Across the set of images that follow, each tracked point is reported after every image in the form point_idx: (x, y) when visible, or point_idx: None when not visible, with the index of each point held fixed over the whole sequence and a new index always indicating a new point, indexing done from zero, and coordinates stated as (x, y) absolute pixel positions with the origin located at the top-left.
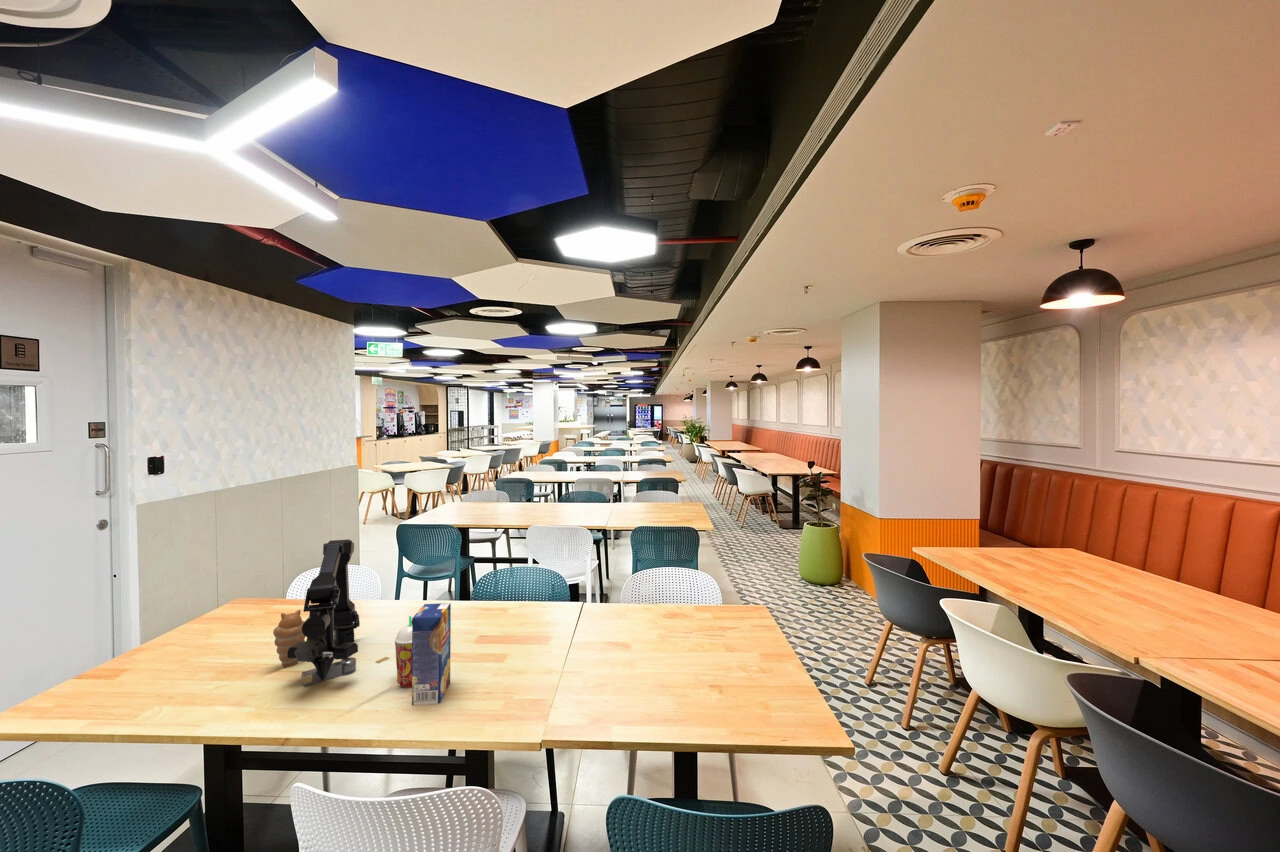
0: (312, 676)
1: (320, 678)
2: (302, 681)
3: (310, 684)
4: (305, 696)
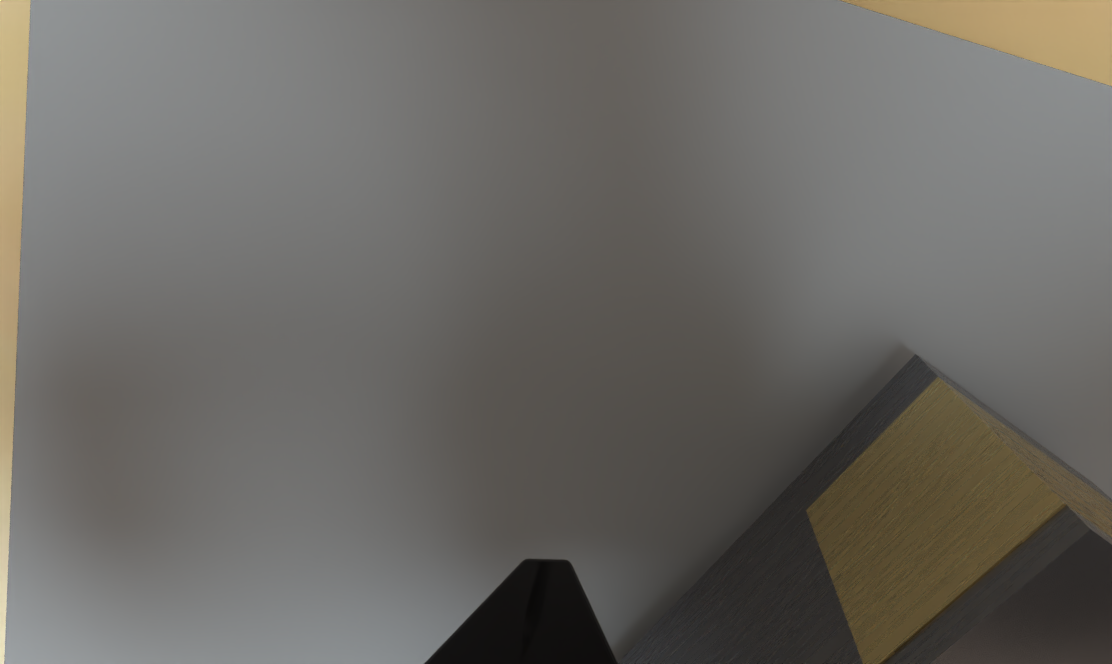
0: (839, 615)
1: (688, 651)
2: (1085, 486)
3: (822, 461)
4: None
